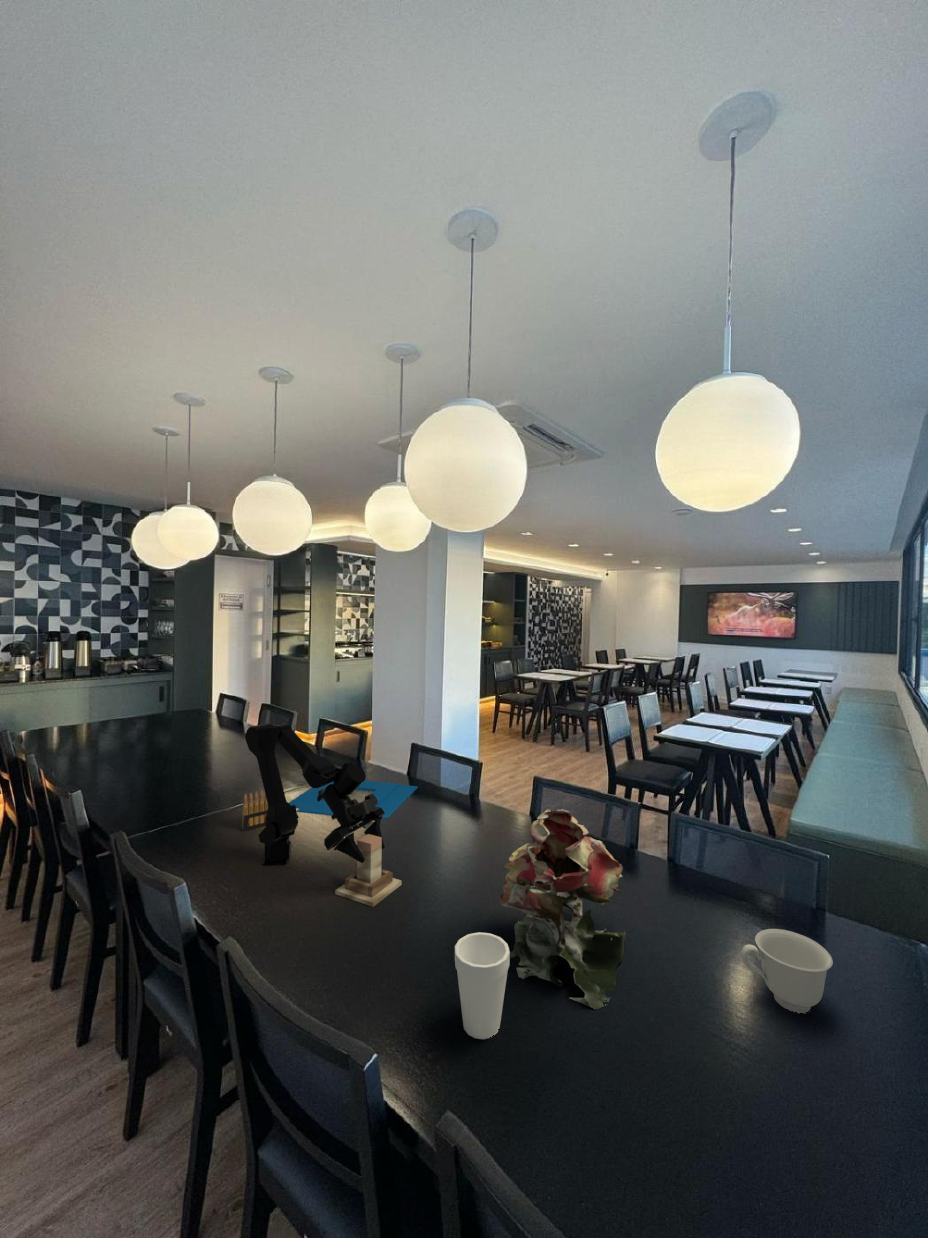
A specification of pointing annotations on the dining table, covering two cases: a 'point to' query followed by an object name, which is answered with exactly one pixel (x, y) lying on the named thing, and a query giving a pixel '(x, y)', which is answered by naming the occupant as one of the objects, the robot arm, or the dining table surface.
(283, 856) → the robot arm
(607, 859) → the rose bouquet
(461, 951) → the foam cup
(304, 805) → the frame
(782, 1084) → the dining table surface
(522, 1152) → the dining table surface
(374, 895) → the socket stand
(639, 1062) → the dining table surface
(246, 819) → the ammunition clip
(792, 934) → the teacup
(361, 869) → the birch post
